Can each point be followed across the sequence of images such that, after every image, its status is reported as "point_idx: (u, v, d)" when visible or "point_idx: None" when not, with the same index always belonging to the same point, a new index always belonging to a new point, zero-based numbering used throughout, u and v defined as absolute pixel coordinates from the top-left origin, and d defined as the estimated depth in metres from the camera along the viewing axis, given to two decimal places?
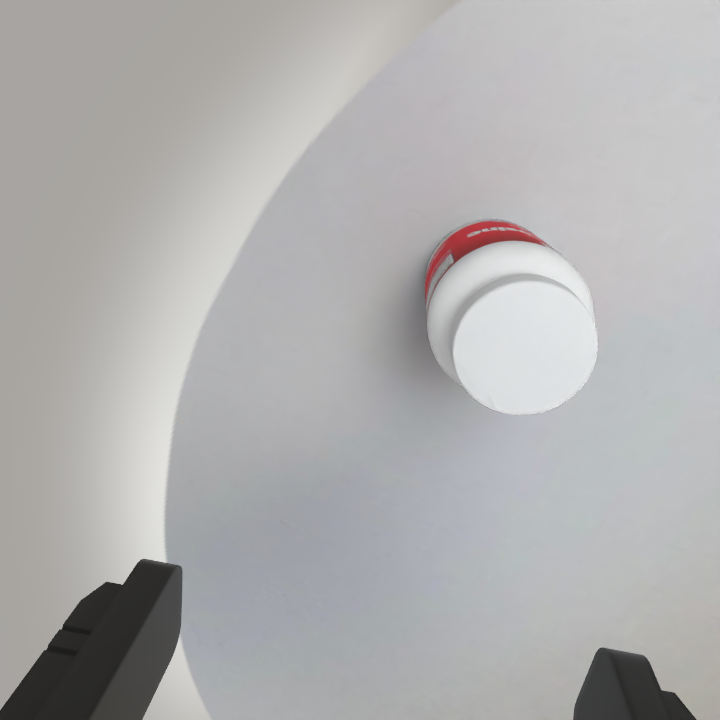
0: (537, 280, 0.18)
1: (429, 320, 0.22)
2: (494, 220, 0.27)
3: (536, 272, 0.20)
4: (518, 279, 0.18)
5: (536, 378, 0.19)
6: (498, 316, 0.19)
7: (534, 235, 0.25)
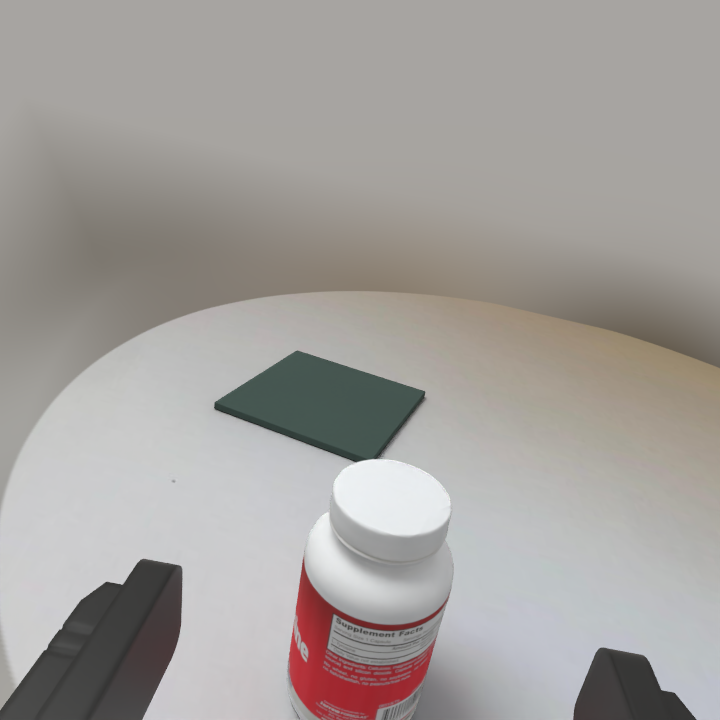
0: (332, 495, 0.22)
1: (396, 611, 0.21)
2: (288, 672, 0.26)
3: (328, 528, 0.23)
4: (335, 508, 0.22)
5: (411, 485, 0.23)
6: (369, 510, 0.21)
7: None
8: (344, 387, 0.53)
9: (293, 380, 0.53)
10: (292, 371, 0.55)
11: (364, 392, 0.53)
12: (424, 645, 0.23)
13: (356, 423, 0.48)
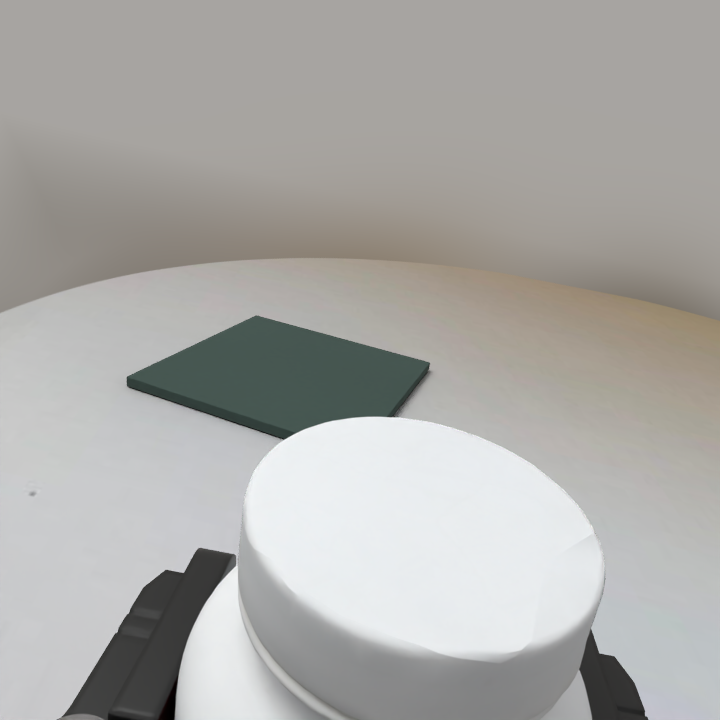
0: (243, 513, 0.07)
1: None
2: None
3: None
4: (246, 554, 0.07)
5: (471, 479, 0.08)
6: (355, 559, 0.06)
7: None
8: (319, 357, 0.39)
9: (247, 349, 0.38)
10: (247, 339, 0.40)
11: (347, 364, 0.38)
12: None
13: (335, 402, 0.33)
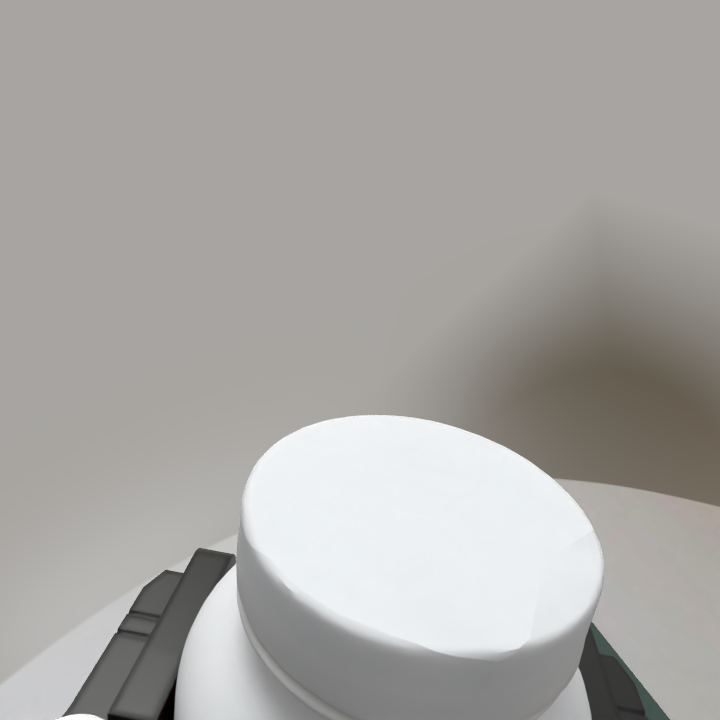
0: (241, 511, 0.07)
1: None
2: None
3: None
4: (244, 553, 0.07)
5: (470, 477, 0.08)
6: (353, 558, 0.06)
7: None
8: None
9: None
10: None
11: None
12: None
13: None
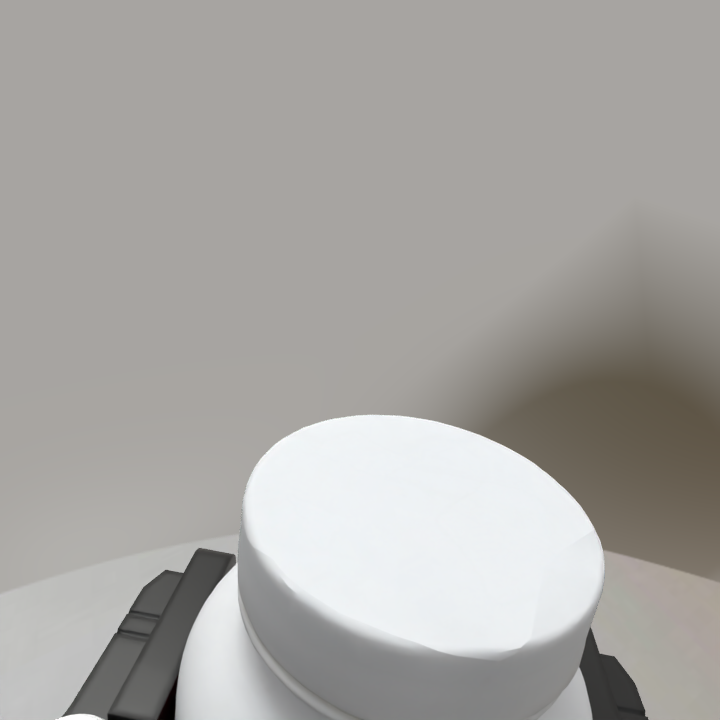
0: (242, 511, 0.07)
1: None
2: None
3: None
4: (245, 552, 0.07)
5: (471, 477, 0.08)
6: (354, 558, 0.06)
7: None
8: None
9: None
10: None
11: None
12: None
13: None
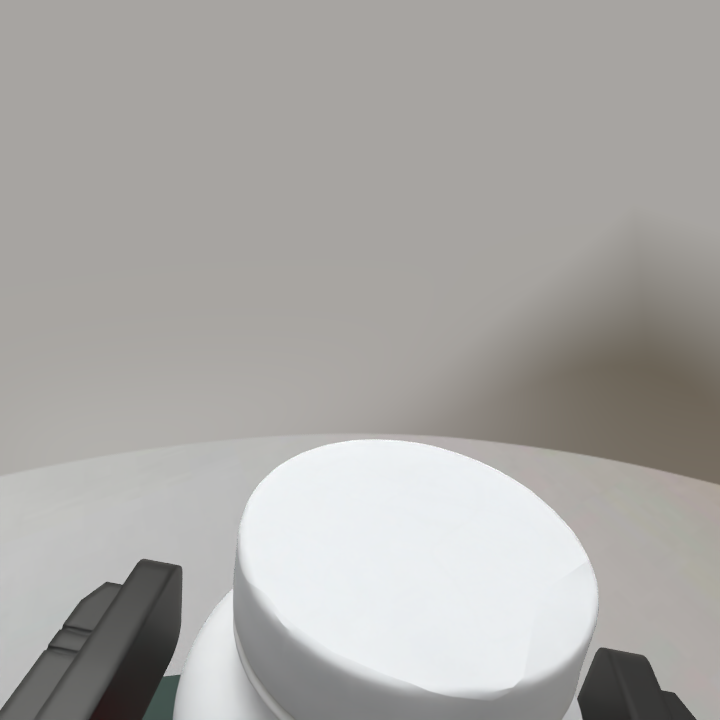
0: (237, 542, 0.07)
1: None
2: None
3: None
4: (240, 585, 0.07)
5: (466, 505, 0.08)
6: (349, 592, 0.07)
7: None
8: None
9: None
10: None
11: None
12: None
13: None
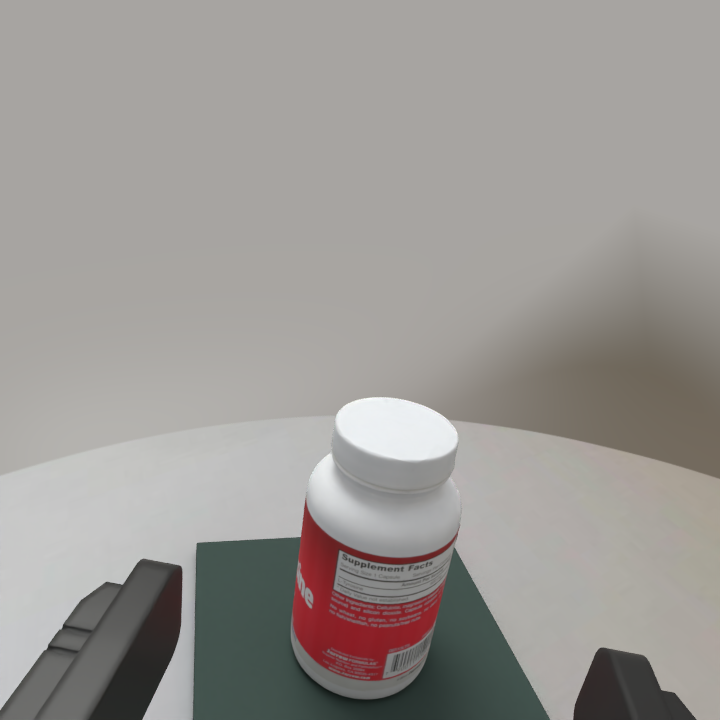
0: (335, 428, 0.21)
1: (405, 542, 0.20)
2: (292, 627, 0.24)
3: (330, 466, 0.22)
4: (337, 439, 0.21)
5: (415, 419, 0.22)
6: (374, 439, 0.20)
7: None
8: None
9: None
10: None
11: (434, 680, 0.24)
12: (434, 583, 0.22)
13: None
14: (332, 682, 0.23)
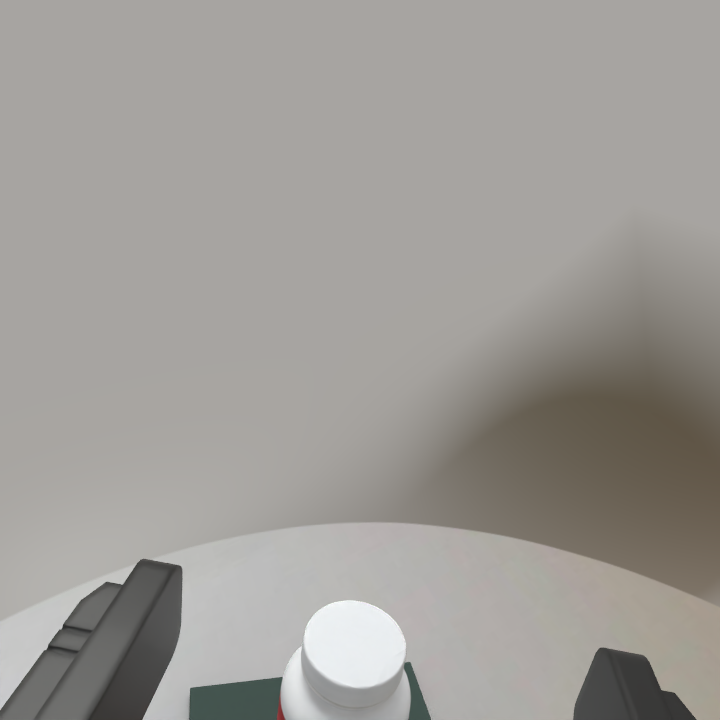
0: (303, 645, 0.26)
1: None
2: None
3: (300, 668, 0.27)
4: (305, 658, 0.25)
5: (372, 629, 0.27)
6: (334, 661, 0.25)
7: None
8: None
9: None
10: None
11: None
12: None
13: None
14: None
